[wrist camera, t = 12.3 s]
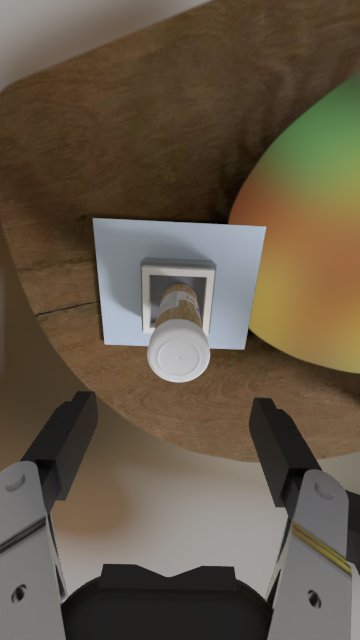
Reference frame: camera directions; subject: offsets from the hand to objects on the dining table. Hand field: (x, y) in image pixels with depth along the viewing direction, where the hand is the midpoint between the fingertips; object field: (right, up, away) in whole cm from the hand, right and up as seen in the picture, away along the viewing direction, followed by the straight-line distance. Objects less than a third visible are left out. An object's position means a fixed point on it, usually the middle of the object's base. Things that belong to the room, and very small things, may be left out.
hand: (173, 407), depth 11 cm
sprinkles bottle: (0, +7, +17) cm, 18 cm away
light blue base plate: (0, +9, +21) cm, 23 cm away
